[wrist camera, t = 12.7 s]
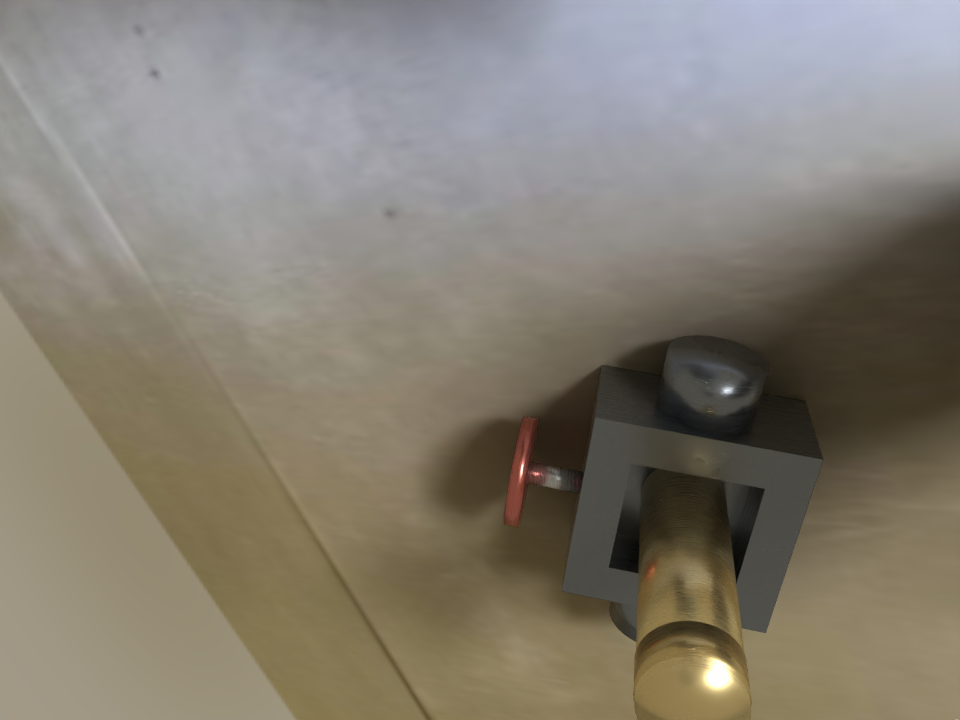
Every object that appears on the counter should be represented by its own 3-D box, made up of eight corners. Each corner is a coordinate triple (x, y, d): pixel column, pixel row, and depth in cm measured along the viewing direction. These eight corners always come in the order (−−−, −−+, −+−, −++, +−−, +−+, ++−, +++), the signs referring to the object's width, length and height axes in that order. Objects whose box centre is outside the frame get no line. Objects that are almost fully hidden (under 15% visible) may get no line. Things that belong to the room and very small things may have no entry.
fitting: (648, 453, 49) (644, 653, 35) (736, 470, 48) (765, 679, 35) (633, 523, 51) (623, 737, 37) (716, 539, 50) (737, 762, 37)
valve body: (543, 303, 49) (528, 354, 43) (820, 351, 48) (843, 410, 42) (504, 553, 57) (487, 624, 51) (742, 601, 55) (752, 681, 49)
